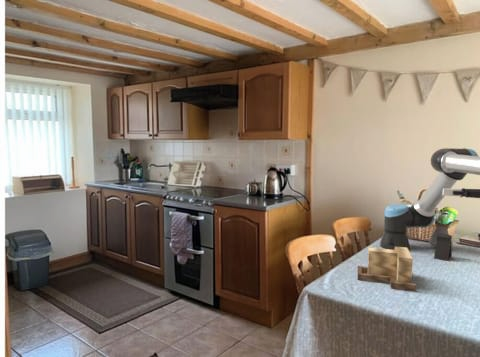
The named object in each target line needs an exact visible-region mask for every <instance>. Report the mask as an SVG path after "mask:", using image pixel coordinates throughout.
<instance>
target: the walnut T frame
mask: <svg viewBox="0 0 480 357" xmlns="http://www.w3.org/2000/svg"><path fill="white" fill-rule="evenodd" d="M357 281H365V282H374V283H382V284H389V287H390V289H391V290H392V289H393V290H398V291H399V290H401V291H407V292H408V291H409V292H415V293H416V292H417V284H416V283H412V282H411V283H403V282H396V281H395V280H394V277H391V276H381V275H372V274H368V266H363V265H357Z"/></svg>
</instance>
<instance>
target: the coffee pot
mask: <svg viewBox="0 0 480 357" xmlns="http://www.w3.org/2000/svg"><path fill="white" fill-rule="evenodd" d="M442 219H443V220H444V218H441V217H440V221H439V223H435V224H434V225H435V229H434V230H433V233H432V235H431V237H430V238H429V240H428V242H429V245H430V246H433V247H432V248H433V249H436V242H437V234H438V233H439V234H445V235H450V234H449V232H448V228H449V227H450V225H449V224H445V223H443V222H444V221H443V220H442ZM452 241H453V240H451V246H452V247H453V242H452Z"/></svg>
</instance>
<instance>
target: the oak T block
mask: <svg viewBox="0 0 480 357" xmlns="http://www.w3.org/2000/svg"><path fill="white" fill-rule="evenodd" d="M409 250H410V249H408V248H406V247H395V250H390V249H386V248H377V247H368V253H367V256H368V257H367V267H368V273H367V274H372V275H381V276H391V277H394V280H395V282H403V283H412V278H413V276H412V275H413V260H414V258H413V257H412V254H411V252H410V251H409Z"/></svg>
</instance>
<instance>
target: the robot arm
mask: <svg viewBox="0 0 480 357" xmlns="http://www.w3.org/2000/svg"><path fill="white" fill-rule="evenodd" d="M430 165H431V167H432V168H433V169H434V170H435V171H437V172H439V173H438V175H436V177H435V178H434V180H433V181H432V182H431V184H430V185H429V186H428V188H427V189H426V191H425V192H424V193H423V195H422V196H421V198H420V199H418V200H415V201H414V202H413V203H412V205H411V206H408V205H407V204H401V203H399V204H398V203H396V204H388V205H387V206H386V207H385V208H384V209H385V210H384V213H383V214H384V223H383V224H384V226H383V233H382V236H381V240H379V246H380V247H381V248H382V249H390V250H395V247H406V248H408V250H410V247H411V246H410V241H409V238H408V234H407V233H408V230H407V229H413V228H417V229H418V228H419V229H421V228H422V229H423V228H426V227H430V226H432V225H433V224H434V222H435V220H436V218H435V217H436V210H435V209H436V208H437V206H438V205H439V204H440V203H441V201H442V200H443V199H444V198H445V196H447V197H459V198H463V197H464V198H468V199H469V198H472V199H473V198H474V199H480V188H464V187H463V188H453V187H454V185H455V184H456V183H457V182H458V181H463V179H464V178H465V177H466V176H467V175H468V174H469V175H470V174H471V175H477V176H480V156H479V154H478V153H477V152H476V151H475V150H474V149H472V148H465V147H464V148H440V149H437V150H436V151H435V152H434V153H433V154H432V155H431V157H430Z"/></svg>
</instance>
